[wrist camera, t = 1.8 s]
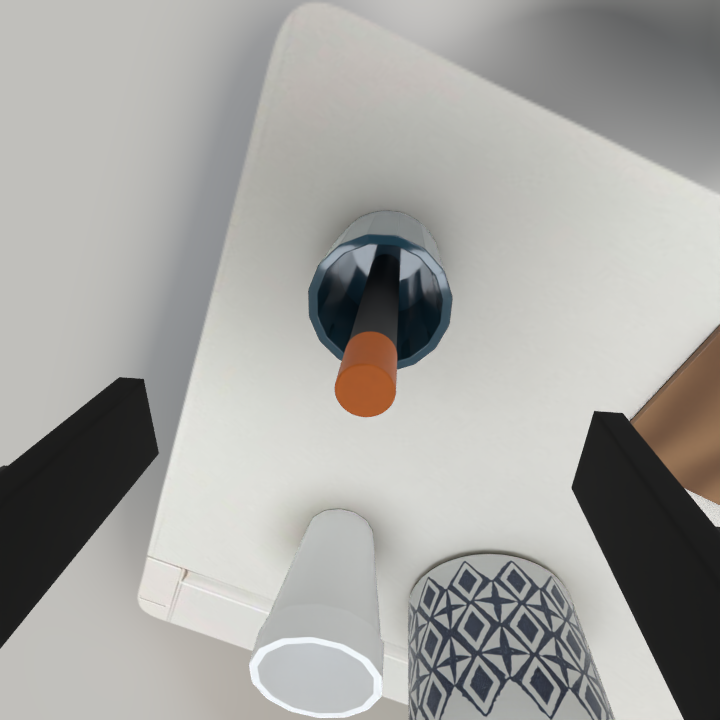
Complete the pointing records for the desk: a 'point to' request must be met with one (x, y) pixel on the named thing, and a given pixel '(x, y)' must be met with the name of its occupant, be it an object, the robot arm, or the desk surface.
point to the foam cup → (324, 624)
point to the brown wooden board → (688, 421)
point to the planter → (498, 645)
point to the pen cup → (416, 289)
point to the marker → (372, 344)
